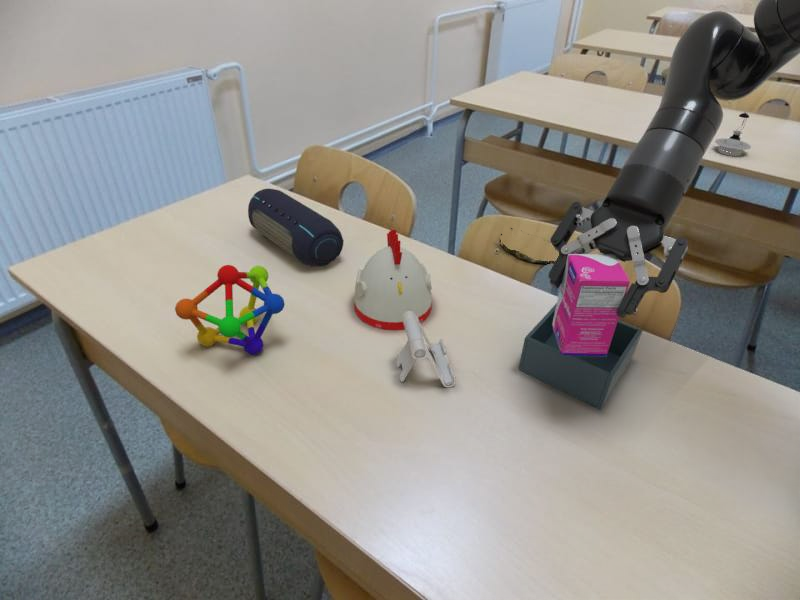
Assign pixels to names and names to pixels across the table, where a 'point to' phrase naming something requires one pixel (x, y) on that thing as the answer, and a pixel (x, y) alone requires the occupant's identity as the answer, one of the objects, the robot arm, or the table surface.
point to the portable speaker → (295, 227)
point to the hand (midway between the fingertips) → (585, 300)
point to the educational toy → (229, 323)
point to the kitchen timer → (392, 287)
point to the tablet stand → (423, 351)
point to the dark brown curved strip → (523, 255)
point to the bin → (578, 362)
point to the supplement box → (589, 304)
